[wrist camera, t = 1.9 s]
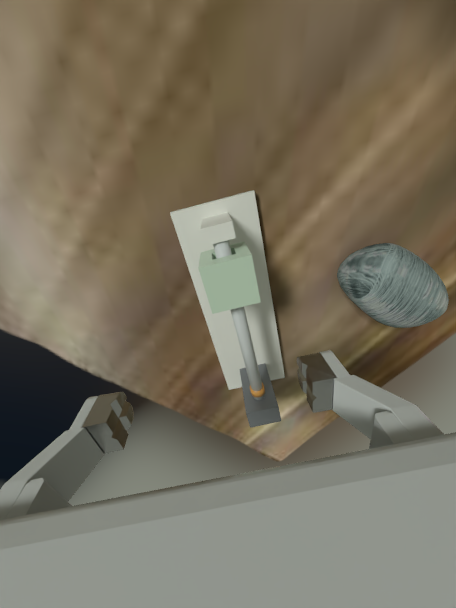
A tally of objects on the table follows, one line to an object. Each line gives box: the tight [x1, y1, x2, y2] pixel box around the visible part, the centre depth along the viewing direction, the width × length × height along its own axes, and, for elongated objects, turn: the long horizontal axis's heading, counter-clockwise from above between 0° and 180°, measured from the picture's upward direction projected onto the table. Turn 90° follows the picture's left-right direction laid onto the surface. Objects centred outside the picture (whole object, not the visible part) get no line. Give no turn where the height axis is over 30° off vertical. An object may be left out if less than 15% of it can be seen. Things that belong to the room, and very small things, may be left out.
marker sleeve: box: [198, 242, 261, 314], centre depth 25 cm, size 5×5×5 cm
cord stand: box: [170, 190, 285, 427], centre depth 30 cm, size 10×30×10 cm, turn 13°
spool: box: [337, 243, 449, 328], centre depth 30 cm, size 14×10×10 cm
